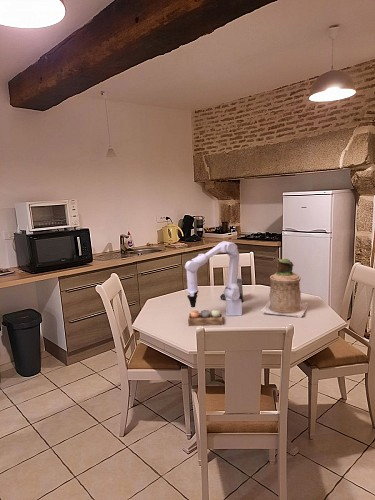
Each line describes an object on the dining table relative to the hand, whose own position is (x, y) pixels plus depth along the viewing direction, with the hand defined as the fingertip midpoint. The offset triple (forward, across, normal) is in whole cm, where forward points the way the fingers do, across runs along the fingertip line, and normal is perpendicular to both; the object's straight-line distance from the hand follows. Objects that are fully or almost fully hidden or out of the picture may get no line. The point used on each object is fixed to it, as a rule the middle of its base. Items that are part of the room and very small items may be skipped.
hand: (193, 305), depth 201 cm
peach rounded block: (+7, +1, 0) cm, 7 cm away
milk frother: (+10, -37, +23) cm, 45 cm away
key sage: (+7, +1, +12) cm, 14 cm away
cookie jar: (+10, -16, +54) cm, 57 cm away
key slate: (+7, +1, +6) cm, 10 cm away
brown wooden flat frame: (+10, +1, +6) cm, 12 cm away
